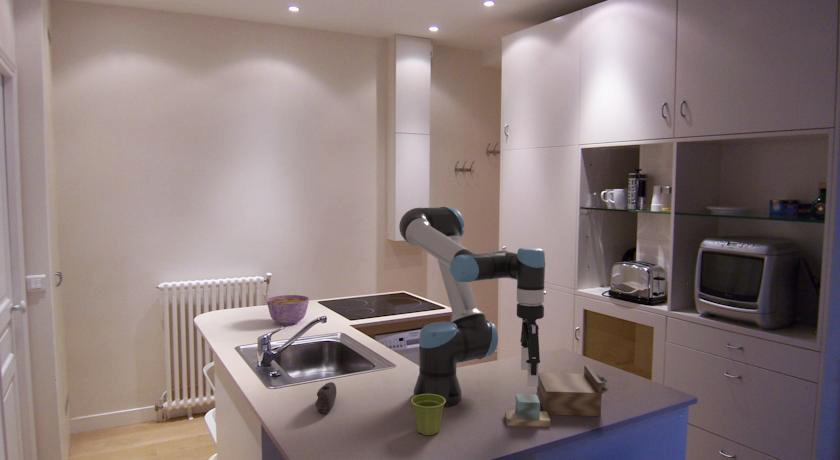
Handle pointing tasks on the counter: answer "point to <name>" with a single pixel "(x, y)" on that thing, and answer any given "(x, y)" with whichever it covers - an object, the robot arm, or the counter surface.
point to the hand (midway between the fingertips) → (529, 377)
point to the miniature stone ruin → (602, 381)
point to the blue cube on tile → (527, 412)
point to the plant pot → (428, 412)
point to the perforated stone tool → (326, 397)
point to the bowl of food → (287, 308)
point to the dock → (570, 393)
